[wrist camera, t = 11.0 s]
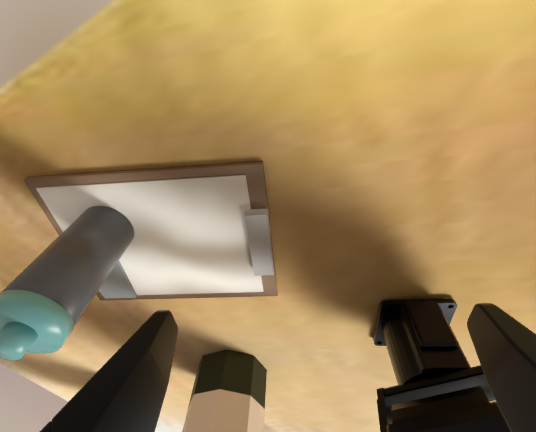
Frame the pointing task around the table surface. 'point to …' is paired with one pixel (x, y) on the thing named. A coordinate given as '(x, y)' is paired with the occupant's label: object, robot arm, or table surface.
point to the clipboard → (176, 228)
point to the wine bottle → (227, 394)
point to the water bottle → (61, 283)
